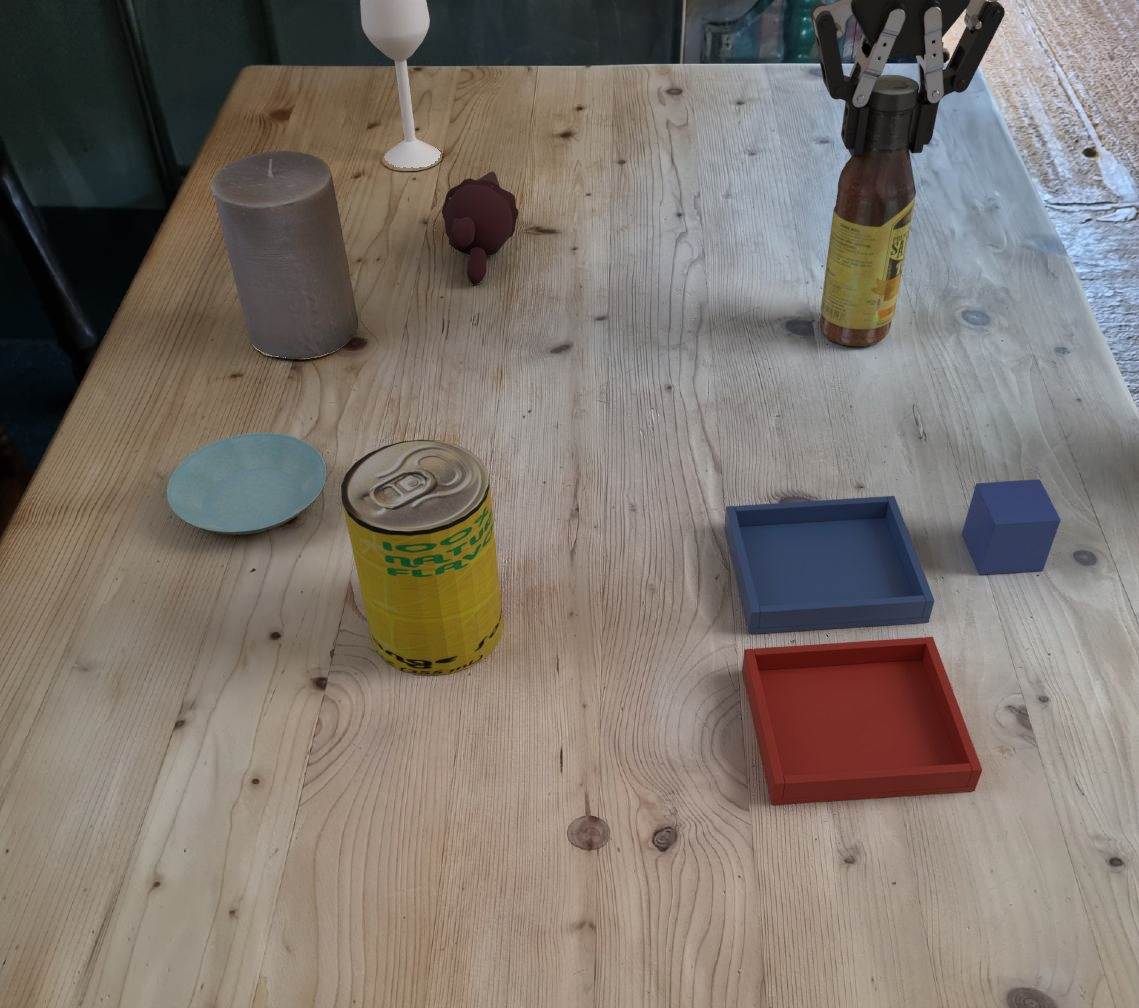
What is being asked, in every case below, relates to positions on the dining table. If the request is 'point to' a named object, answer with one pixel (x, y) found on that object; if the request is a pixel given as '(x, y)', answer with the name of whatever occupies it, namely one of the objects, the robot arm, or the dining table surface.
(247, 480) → the saucer
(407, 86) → the champagne flute
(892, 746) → the red tray
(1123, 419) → the dining table surface
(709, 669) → the dining table surface
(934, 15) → the robot arm
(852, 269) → the sauce bottle
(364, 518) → the beverage can
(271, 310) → the pillar candle
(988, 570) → the blue block
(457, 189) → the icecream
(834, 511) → the blue tray
